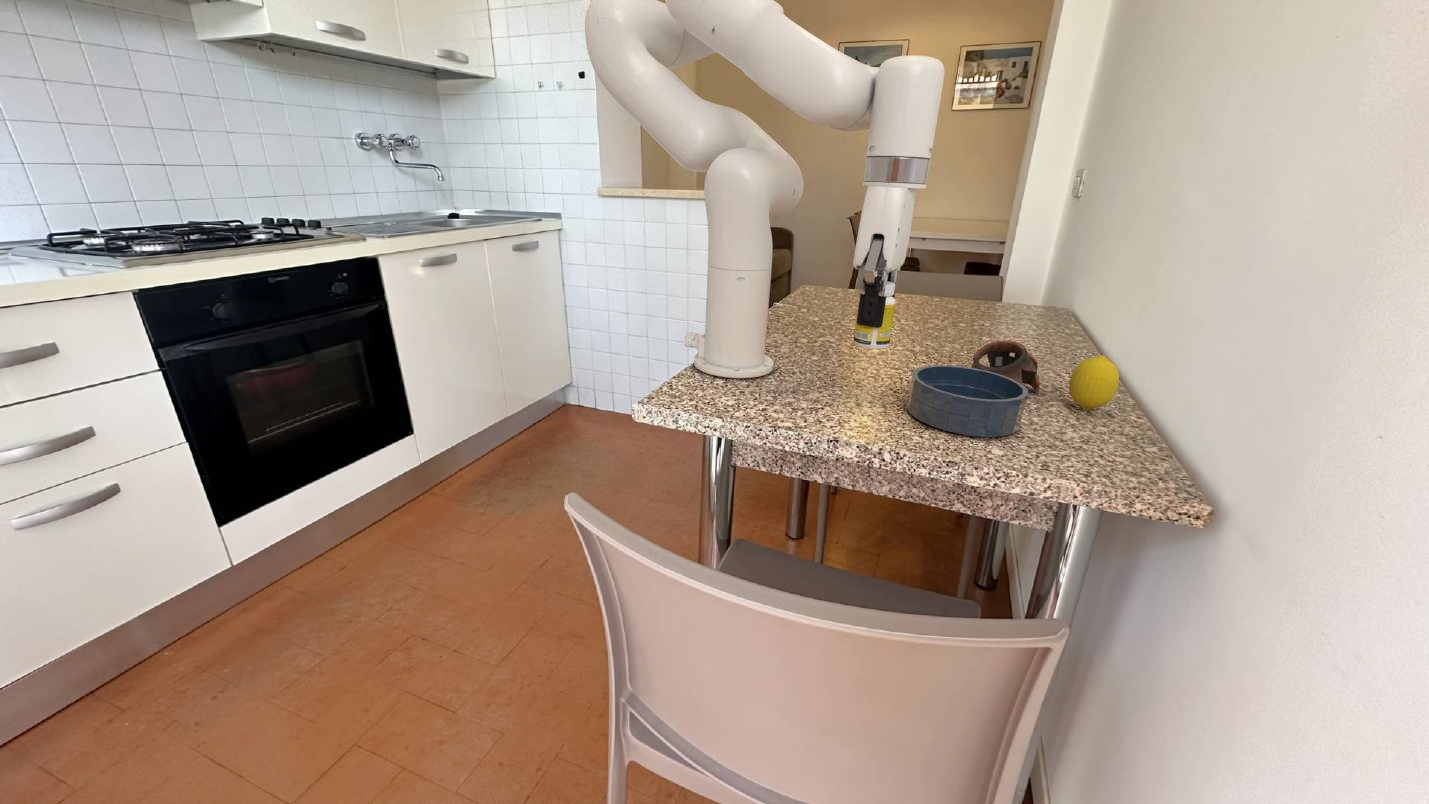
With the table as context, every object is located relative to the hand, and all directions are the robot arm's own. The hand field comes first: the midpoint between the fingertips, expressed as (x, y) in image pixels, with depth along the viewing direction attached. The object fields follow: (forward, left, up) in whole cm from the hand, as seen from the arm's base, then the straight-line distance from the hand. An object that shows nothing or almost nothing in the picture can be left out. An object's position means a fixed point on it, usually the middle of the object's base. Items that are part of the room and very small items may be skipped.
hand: (874, 320), depth 76 cm
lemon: (+28, +13, -11) cm, 33 cm away
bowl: (+13, 0, -11) cm, 17 cm away
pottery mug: (+17, +17, -11) cm, 26 cm away
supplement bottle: (0, 0, -4) cm, 4 cm away
